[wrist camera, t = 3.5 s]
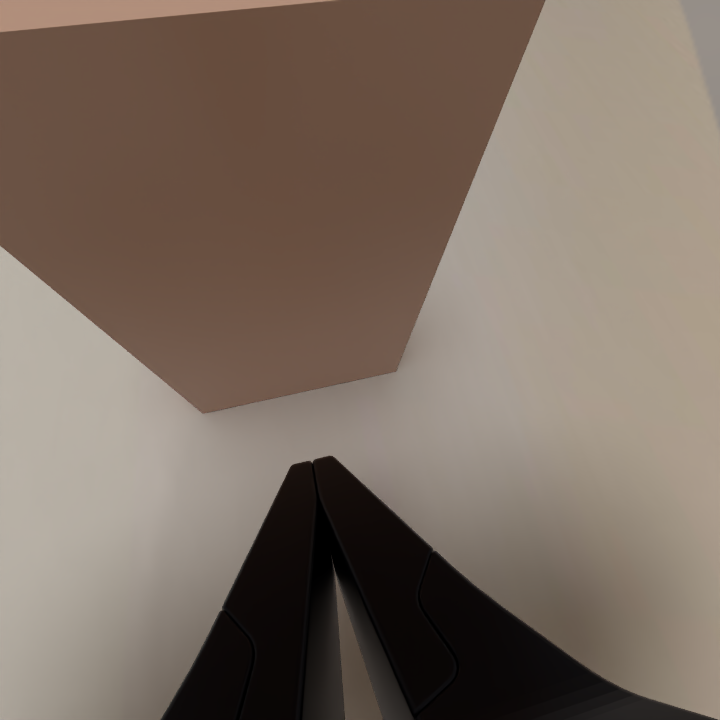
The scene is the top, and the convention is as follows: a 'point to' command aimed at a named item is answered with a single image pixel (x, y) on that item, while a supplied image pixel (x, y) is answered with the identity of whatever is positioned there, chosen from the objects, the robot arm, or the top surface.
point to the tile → (248, 173)
